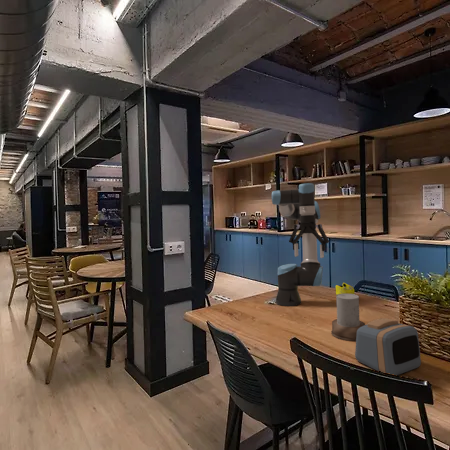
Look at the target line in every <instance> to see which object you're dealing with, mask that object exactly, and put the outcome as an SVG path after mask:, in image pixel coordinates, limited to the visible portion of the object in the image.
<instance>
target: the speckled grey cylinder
mask: <svg viewBox="0 0 450 450" xmlns="http://www.w3.org/2000/svg"><path fill="white" fill-rule="evenodd" d="M335 297H336V319H337V324H339V325H341V326H344V327H357V326H359V325H360V321H361V320H360V296H359V295H357V294H348V293H344V294H338V295H337V294H336V295H335Z"/></svg>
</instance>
